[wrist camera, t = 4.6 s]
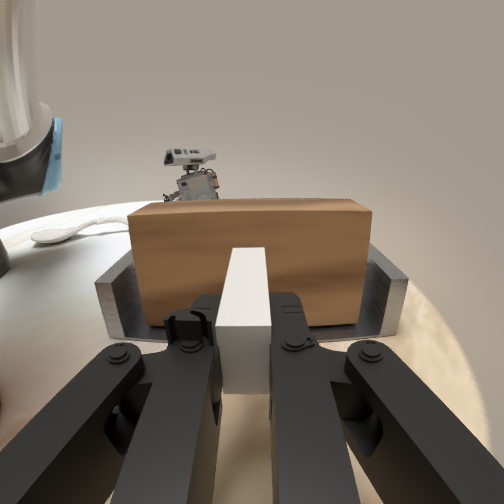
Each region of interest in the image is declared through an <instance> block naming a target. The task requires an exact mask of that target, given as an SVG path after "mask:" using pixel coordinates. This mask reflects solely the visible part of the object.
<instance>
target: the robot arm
mask: <svg viewBox="0 0 504 504" xmlns="http://www.w3.org/2000/svg"><path fill="white" fill-rule="evenodd" d="M37 10H38V0H0V205H1V204H6V203H9V202H14V201H18V200H22V199H26V198H31V197H35V196H42V195H43V194H45V193H49V192H52V191H55V190H56V189H58V188H59V186H60V184H61V149H62V129H63V120H62V119H61V118H57V117H53V118H52V114H51V110H50V109H49V107H48V106H47V105H46V104H44V103H42V102H40V98H39V89H38V75H37V53H36V32H37V31H36V29H37ZM9 268H10V260H9V256H8V253H7V251H6V249H5V247H4V245H3V243H2V241H1V239H0V276H2V275H3V274H4V273H5V272H6V271H7V270H8V269H9ZM163 321H164V326H165V331H166V336H167V340H168V346H167V349H166V350H164V351H161V352H157V353H150V354H143V355H142V354H141V351H140V349H139V348H138V347H137V346H136V345H134V344H132V343H125V342H123V343H115V344H113V345H110V346H108V347H106V348H105V349H103V350H102V351H101V352H100V353H99V354H98V355H97V356H96V357H95V358H94V359H92V360H91V361H90V362H89V363H88V364H87V365H86V366H85V367H84V368H83V369H82V370H81V371H80V372H79V373H78V374H77V375H76V376H75V377H74V378H73V379H72V380H71V381H70V382H69V383H68V384H67V385H66V386H65V387H64V388H63V389H61V390H60V391H59V392H58V393H57V394H56V395H55V396H54V397H53V398H52V399H51V400H50V401H49V402H48V403H47V404H46V405H45V406H44V407H43V408H42V409H41V410H40V411H39V412H38V413H37V414H36V415H35V416H34V417H33V418H32V420H31V421H30V422H29V423H28V424H27V425H26V426H25V427H24V428H23V429H22V430H21V431H20V432H19V433H18V434H17V435H16V436H15V437H14V438H13V439H12V440H11V441H10V442H9V443H8V444H7V445H6V446H5V448H4V449H3V450H2V451H1V452H0V504H105V502H106V501H107V499H108V498H109V496H110V495H111V493H112V492H113V490H114V489H115V490H114V493H113V496H112V499H111V502H110V504H212V499H213V489H214V480H215V470H216V461H217V452H218V442H219V433H220V424H221V416H222V407H223V406H222V399H221V393H222V387H223V394H270V408H269V420H270V430H271V457H272V486H273V504H360V499H359V495H358V491H357V486H356V482H355V477H354V473H353V469H352V465H351V461H350V457H349V453H348V448H347V445H346V442H347V444H348V445H349V447H350V449H351V450H352V452H353V454H354V455H355V457H356V459H357V460H358V462H359V464H360V465H361V467H362V469H363V470H364V472H365V474H366V475H367V477H368V479H369V480H370V482H371V484H372V485H373V487H374V488H375V490H376V492H377V493H378V495H379V497H380V498H381V500H382V502H383V503H384V504H504V468H503V467H502V466H501V465H500V464H499V462H498V461H497V460H496V459H495V458H494V457H493V456H492V455H491V453H490V452H489V451H488V450H487V449H486V448H485V447H484V446H483V445H482V444H481V442H480V441H479V440H478V439H477V438H476V437H475V436H474V435H473V434H472V433H471V432H470V430H469V429H468V428H467V427H466V426H465V425H464V424H463V423H462V422H461V421H460V420H459V419H458V418H457V417H456V416H455V414H454V413H453V412H452V411H451V410H450V409H449V408H448V407H447V406H446V405H445V404H444V403H443V402H442V401H441V400H440V399H439V398H438V397H437V396H436V395H435V394H434V392H433V391H432V390H431V389H430V388H429V387H428V386H427V385H426V384H425V383H424V382H423V381H422V380H421V379H420V378H419V377H418V376H417V375H416V374H415V373H414V372H413V371H412V370H411V369H410V368H409V367H408V366H407V365H406V364H405V363H404V362H403V361H402V360H401V359H400V358H399V357H398V356H397V355H396V354H395V353H394V352H393V351H392V350H391V349H390V348H389V347H388V346H386V345H385V344H383V343H381V342H378V341H374V340H361V341H357V342H355V343H353V344H351V346H350V347H349V348H348V350H347V352H340V351H333V350H329V349H326V348H323V347H321V346H319V343H318V341H317V340H316V338H315V337H313V336H312V335H310V331H309V327H308V324H307V320H306V317H305V313H304V310H303V307H302V303H301V299H300V298H299V297H298V296H297V295H296V294H295V293H294V292H272V293H269V292H268V281H267V270H266V259H265V248H264V247H259V248H233V249H232V254H231V258H230V262H229V267H228V271H227V275H226V280H225V284H224V289H223V293H222V294H201V295H200V296H199V297H198V298H197V299H195V300H194V302H193V305H192V307H191V308H186V309H180V310H177V311H174V312H172V313H170V314H168V315H167V316H166V317H165V318H164V319H163ZM116 406H117V407H116ZM115 407H116V408H115ZM345 440H346V441H345Z"/></svg>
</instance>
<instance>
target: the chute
mask: <svg viewBox="0 0 504 504" xmlns="http://www.w3.org/2000/svg"><path fill="white" fill-rule="evenodd" d="M408 280H409V278H408V277H407V276H406V275H405V274H404V273H403V272H402V271H400V270H399V269H398V268H397V267H396V266H395V265H394V264H393V263H392V262H391V261H390V260H388V259H387V258H386V257H385V256H384V255H383V254H382V253H381V252H380V251H378V250H377V249H376V248H375V247H374V246H373V245H372V244H370V243H369V250H368V259H367V267H366V274H365V281H364V288H363V294H362V300H361V306H360V312H359V318H358V323H352V324H338V325H322V326H308V327H309V331H310V335H312V336H313V337H315V338H316V340H317V341H318V342H331V341H344V340H355V339H365V338H374V337H383V336H391V335H395V334H396V331H397V327H398V323H399V319H400V315H401V311H402V307H403V303H404V299H405V294H406V290H407V285H408ZM94 283H95V287H96V291H97V295H98V299H99V303H100V306H101V310H102V314H103V317H104V320H105V324H106V327H107V330H108V333H109V337H110V338H118V339H128V340H139V341H151V342H166V343H168V340H167V336H166V331H165V326H152V325H146V321H145V316H144V312H143V307H142V302H141V298H140V293H139V288H138V283H137V277H136V272H135V266H134V260H133V254H132V249H131V250H130V251H129V252H127V253H126V254H125V255H124V256H123V257H122V258H121V259H120V260H118V261H117V262H116V263H115V264H114V265H113V266H112V267H111V268H109V269H108V270H107V271H106V272H105V273H104V274H103V275H102V276H101V277H100V278H99V279H98V280H96V281H95V282H94Z"/></svg>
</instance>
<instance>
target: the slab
mask: <svg viewBox="0 0 504 504" xmlns="http://www.w3.org/2000/svg"><path fill="white" fill-rule="evenodd" d="M127 218H128V226H129V234H130V241H131V247H132V254H133V260H134V266H135V272H136V277H137V283H138V288H139V293H140V298H141V302H142V307H143V312H144V316H145V321H146V325H152V326H164V321H163V319H164V318H165V317H166V316H167V315H168V314H170V313H172V312H174V311H177V310H180V309H186V308H191V307H192V305H193V302H194V300H195V299H197V298H198V297H199V296H200V295H201V294H222V293H223V289H224V284H225V280H226V275H227V271H228V267H229V262H230V258H231V254H232V249H233V248H259V247H264V248H265V259H266V270H267V281H268V292H269V293H272V292H294V293H295V294H296V295H297V296H298V297H299V298H300V299H301V303H302V307H303V310H304V313H305V317H306V320H307V324H308V326H322V325H338V324H352V323H358V318H359V312H360V306H361V300H362V294H363V288H364V281H365V274H366V267H367V259H368V250H369V241H370V231H371V220H372V211H371V210H369V209H367V208H365V207H364V206H362V205H360V204H358V203H356V202H354V201H353V200H351V199H320V198H261V199H218V200H193V201H173V202H157V203H150V204H148V205H146V206H144V207H142V208H140V209H139V210H137V211H135V212H133V213H131V214H130V215H128V216H127Z"/></svg>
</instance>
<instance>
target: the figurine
mask: <svg viewBox="0 0 504 504" xmlns="http://www.w3.org/2000/svg"><path fill="white" fill-rule="evenodd" d="M215 158H216V153H215V152H214V151H212V150H211V149H169V150H167V151H166V154H165V158H164V165H165V166H177V165H183V169H184V170H186V172H187V174H186V175H183V176H181V179H179V180H177V184H178V187H179V191H176V192H174V193H175V194H170V195H169V197H168V196H167V195H166V196H165V194H163V196H165V198H166V200H164V202H173V200H174V198H176V197H178V196H180V195H181V196H180V197H179V199H177V200H176V201H193V200H218V199H219V197H218V193H217V192H216V191H215V189H217V188H219V185H218V181H217V176H216V173H215V172H213V170H212V169H210V170H211V171H212V173H211V172H208V171H207V170H209V169H207V170H205V169H204V168H202V169H204V170H205V171H197V170H198V168H199V165H200V164H204V163H206V162H207V161H208V160H215ZM202 169H201V170H202ZM189 170H194V171H195V172H193V173H189ZM179 194H180V195H179ZM167 199H168V200H167Z"/></svg>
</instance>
